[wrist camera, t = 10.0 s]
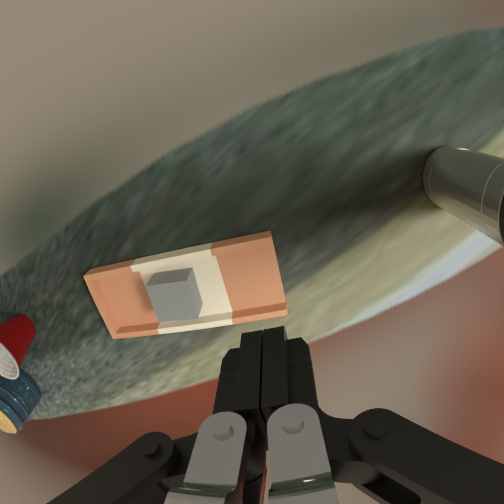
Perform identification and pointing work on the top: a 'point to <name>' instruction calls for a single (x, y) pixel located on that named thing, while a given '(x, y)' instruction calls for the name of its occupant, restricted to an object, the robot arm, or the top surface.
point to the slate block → (175, 295)
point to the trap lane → (208, 280)
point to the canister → (17, 401)
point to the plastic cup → (14, 344)
